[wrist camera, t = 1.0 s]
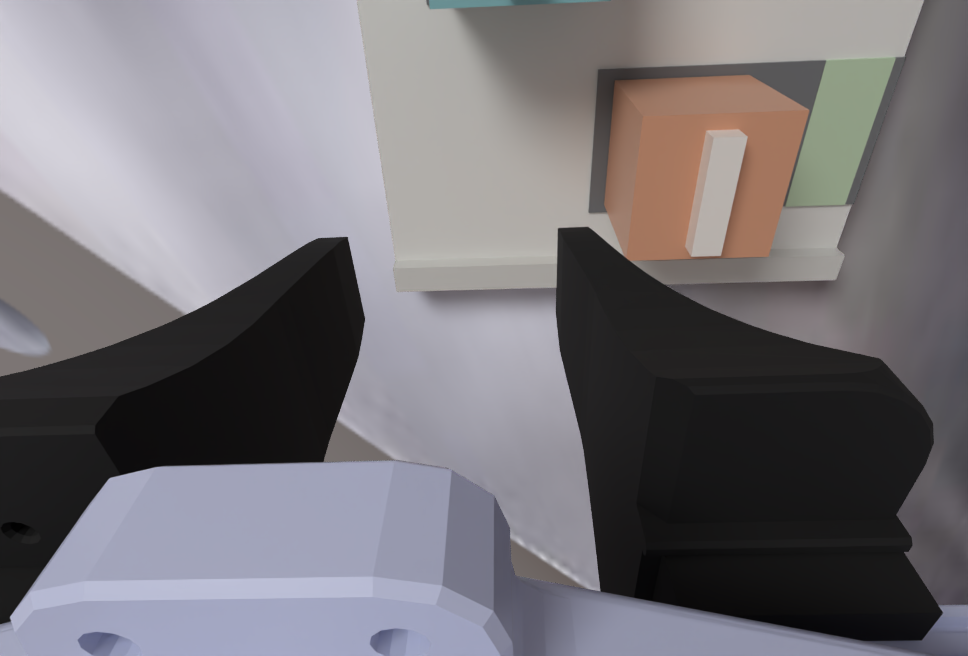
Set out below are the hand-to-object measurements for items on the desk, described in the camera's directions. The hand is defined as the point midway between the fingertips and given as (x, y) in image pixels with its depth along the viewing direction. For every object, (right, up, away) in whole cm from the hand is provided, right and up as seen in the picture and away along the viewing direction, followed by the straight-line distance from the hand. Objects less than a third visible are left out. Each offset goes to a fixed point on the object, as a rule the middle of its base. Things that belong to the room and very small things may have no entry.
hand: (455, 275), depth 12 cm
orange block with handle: (+7, +5, +6) cm, 10 cm away
